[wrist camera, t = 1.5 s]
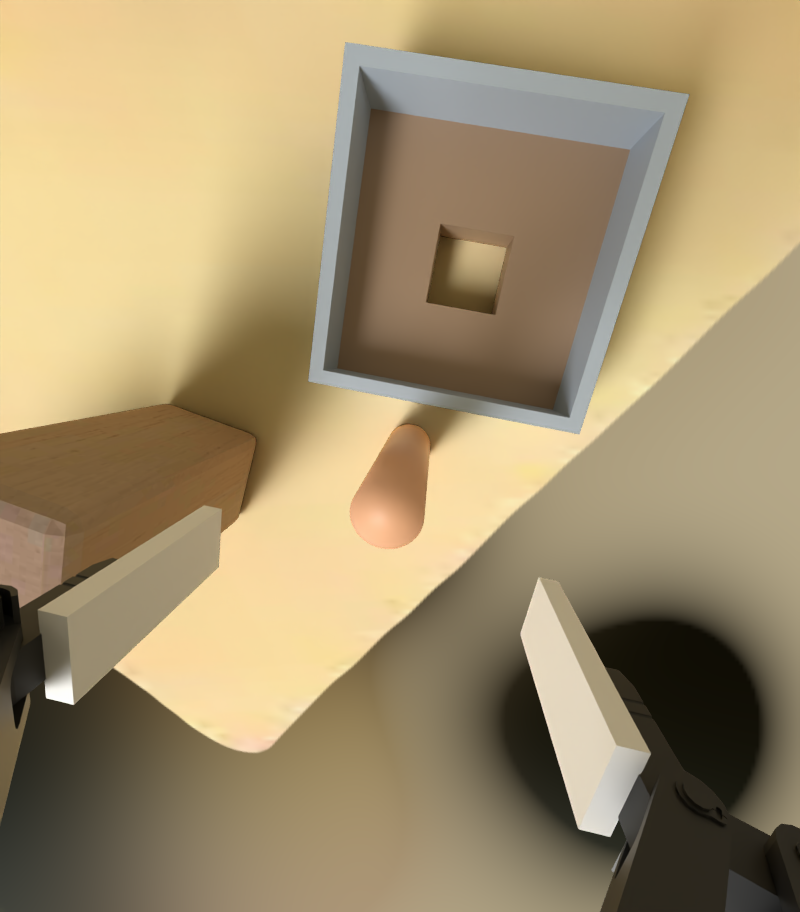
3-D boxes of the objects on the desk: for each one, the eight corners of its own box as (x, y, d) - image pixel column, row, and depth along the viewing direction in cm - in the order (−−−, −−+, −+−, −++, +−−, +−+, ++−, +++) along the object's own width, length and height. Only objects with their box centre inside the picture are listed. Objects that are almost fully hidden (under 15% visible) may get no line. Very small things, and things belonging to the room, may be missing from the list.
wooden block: (152, 488, 39) (-123, 618, 20) (166, 399, 36) (-137, 449, 17) (241, 521, 39) (52, 682, 20) (262, 434, 36) (66, 523, 17)
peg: (391, 420, 35) (355, 472, 19) (434, 428, 34) (431, 488, 19) (384, 460, 36) (345, 540, 20) (425, 468, 36) (416, 555, 20)
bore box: (366, 115, 29) (345, 42, 22) (628, 157, 28) (689, 94, 21) (333, 376, 34) (308, 381, 27) (550, 418, 33) (579, 434, 26)
